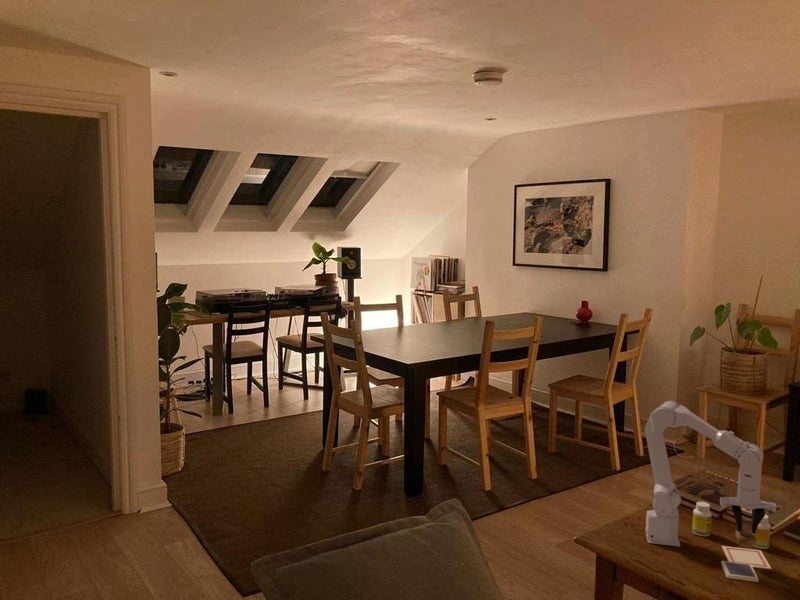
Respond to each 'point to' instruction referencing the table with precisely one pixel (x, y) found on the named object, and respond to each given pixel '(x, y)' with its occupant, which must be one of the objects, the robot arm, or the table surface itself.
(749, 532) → the stamp
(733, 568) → the ink pad
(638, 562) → the table surface
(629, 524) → the table surface
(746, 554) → the print sheet
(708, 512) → the supplement bottle
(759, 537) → the supplement bottle
